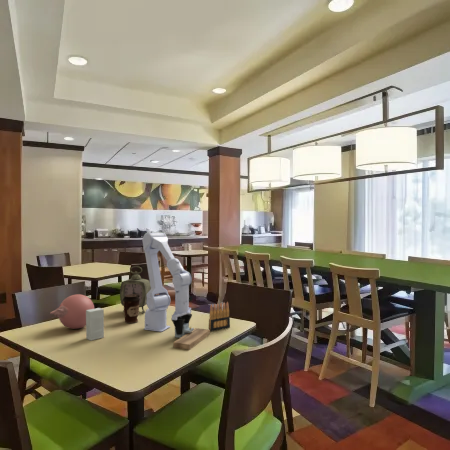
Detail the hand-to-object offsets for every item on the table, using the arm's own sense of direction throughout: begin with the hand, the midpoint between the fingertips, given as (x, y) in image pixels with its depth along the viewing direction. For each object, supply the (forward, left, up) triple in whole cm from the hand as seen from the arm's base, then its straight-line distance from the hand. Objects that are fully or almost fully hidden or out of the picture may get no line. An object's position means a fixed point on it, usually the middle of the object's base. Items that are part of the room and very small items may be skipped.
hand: (181, 332), depth 151 cm
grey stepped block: (+1, 0, -1) cm, 2 cm away
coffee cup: (-33, +11, -2) cm, 35 cm away
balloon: (-51, -9, -2) cm, 52 cm away
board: (+6, -3, -2) cm, 7 cm away
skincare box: (-33, -15, -2) cm, 36 cm away
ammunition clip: (+11, +16, -2) cm, 20 cm away
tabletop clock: (-42, +28, -2) cm, 51 cm away
